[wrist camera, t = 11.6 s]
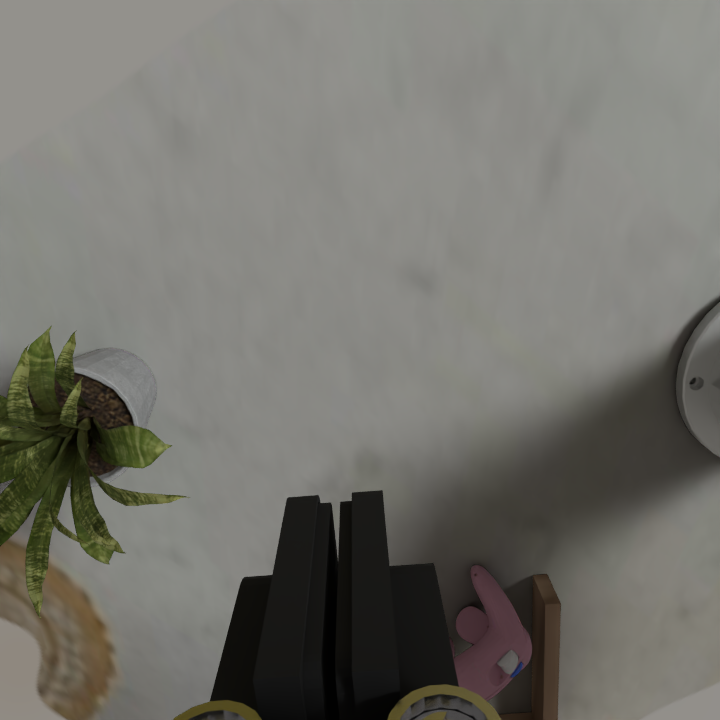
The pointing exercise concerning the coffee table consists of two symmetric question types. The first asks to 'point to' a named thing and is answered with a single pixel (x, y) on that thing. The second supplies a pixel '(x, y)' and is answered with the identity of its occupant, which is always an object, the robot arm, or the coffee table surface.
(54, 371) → the house plant
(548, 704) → the dock bay
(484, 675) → the video game controller
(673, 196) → the coffee table surface
